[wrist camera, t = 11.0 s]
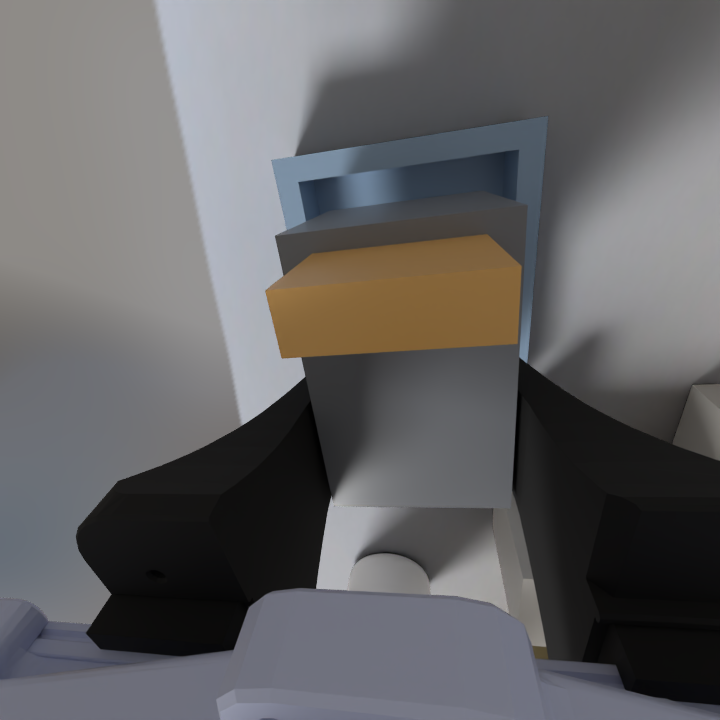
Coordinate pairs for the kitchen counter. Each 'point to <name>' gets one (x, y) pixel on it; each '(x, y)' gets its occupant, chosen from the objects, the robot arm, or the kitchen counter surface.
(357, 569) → the drinking glass
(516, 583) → the bay
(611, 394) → the kitchen counter surface
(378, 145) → the tray
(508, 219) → the gray block with tab
